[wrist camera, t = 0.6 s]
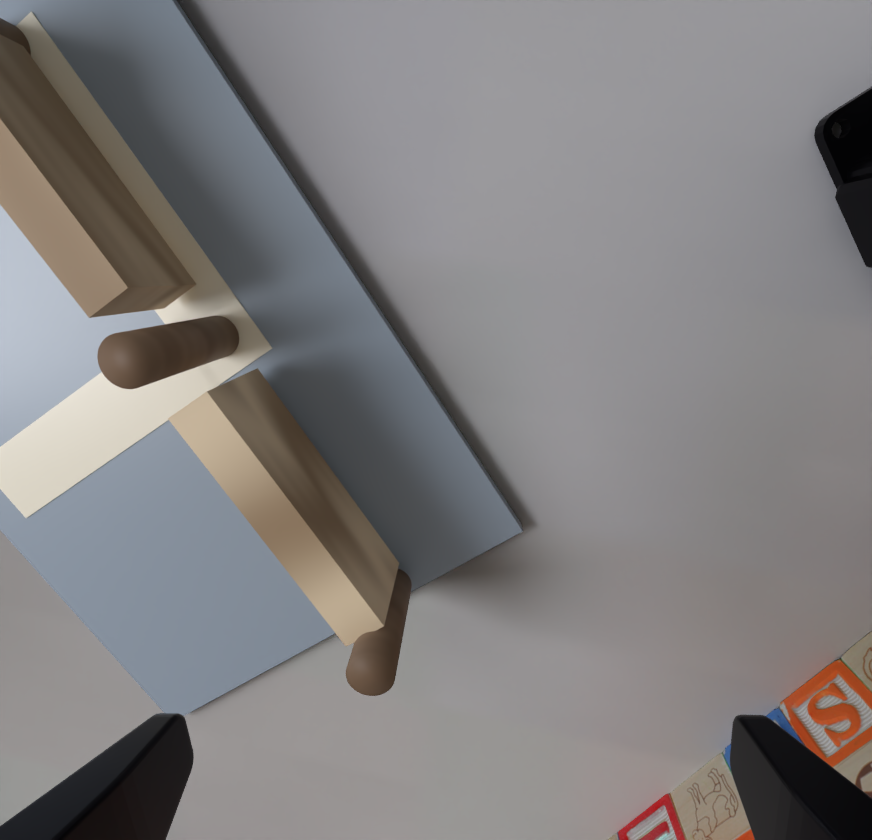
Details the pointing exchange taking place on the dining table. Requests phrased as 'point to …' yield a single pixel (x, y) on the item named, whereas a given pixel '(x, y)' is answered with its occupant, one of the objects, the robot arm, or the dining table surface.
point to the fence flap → (304, 520)
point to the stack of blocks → (803, 719)
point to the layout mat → (205, 377)
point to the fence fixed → (93, 228)
